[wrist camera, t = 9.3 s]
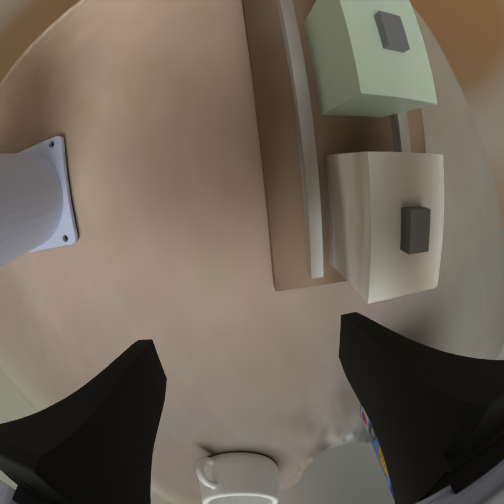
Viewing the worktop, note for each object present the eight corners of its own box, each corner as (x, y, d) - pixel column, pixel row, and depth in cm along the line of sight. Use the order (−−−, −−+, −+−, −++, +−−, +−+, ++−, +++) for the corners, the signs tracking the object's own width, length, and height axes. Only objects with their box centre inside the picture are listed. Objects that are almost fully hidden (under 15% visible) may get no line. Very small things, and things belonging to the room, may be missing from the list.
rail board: (273, 285, 19) (297, 353, 12) (240, -9, 13) (245, -78, 6) (417, 262, 20) (480, 302, 12) (388, 5, 13) (438, -34, 6)
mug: (291, 466, 28) (298, 503, 22) (232, 486, 29) (233, 519, 23) (233, 431, 24) (234, 478, 19) (169, 454, 25) (163, 494, 20)
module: (319, 115, 15) (367, 90, 9) (303, 22, 13) (335, -31, 7) (381, 117, 16) (445, 102, 9) (364, 29, 13) (411, -11, 7)
